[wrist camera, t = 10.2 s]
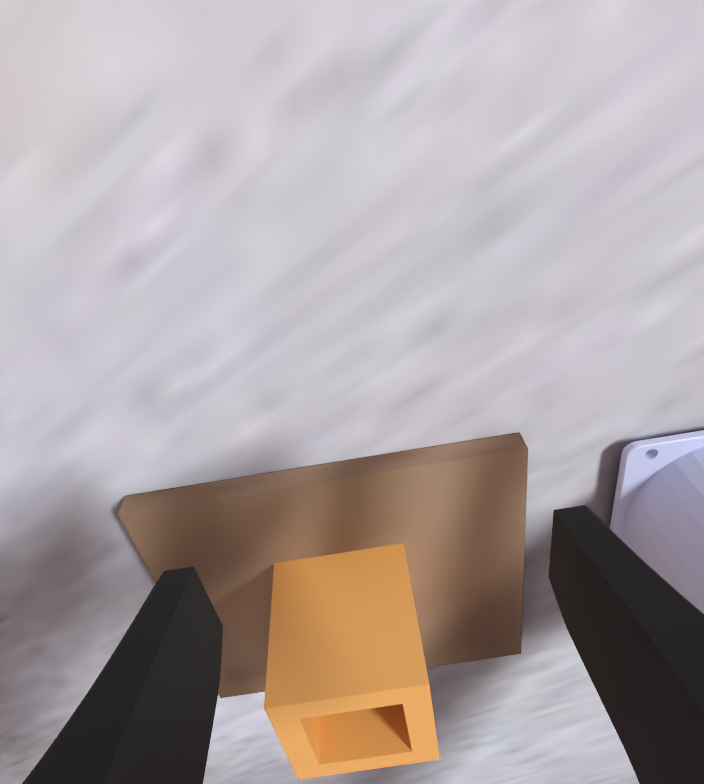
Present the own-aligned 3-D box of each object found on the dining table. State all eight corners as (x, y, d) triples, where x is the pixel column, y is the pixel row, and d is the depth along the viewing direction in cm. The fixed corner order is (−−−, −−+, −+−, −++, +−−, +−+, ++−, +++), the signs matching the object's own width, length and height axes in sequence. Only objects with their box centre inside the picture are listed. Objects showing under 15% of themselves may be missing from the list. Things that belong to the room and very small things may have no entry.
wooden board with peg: (519, 432, 21) (576, 540, 17) (514, 635, 29) (552, 748, 24) (125, 496, 22) (75, 618, 17) (223, 679, 30) (207, 797, 25)
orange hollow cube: (403, 543, 23) (429, 684, 18) (415, 620, 26) (440, 759, 21) (273, 563, 23) (264, 708, 18) (300, 637, 26) (298, 779, 21)
